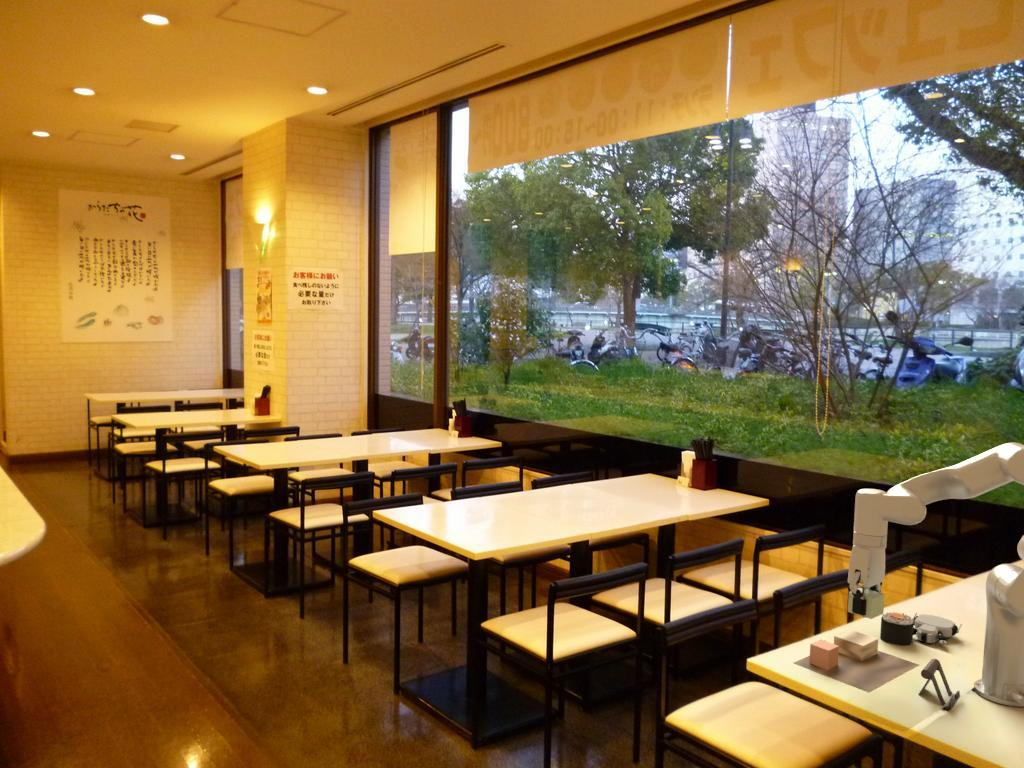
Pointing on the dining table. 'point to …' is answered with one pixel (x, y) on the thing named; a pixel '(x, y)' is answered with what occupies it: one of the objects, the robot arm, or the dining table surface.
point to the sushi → (897, 629)
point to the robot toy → (934, 628)
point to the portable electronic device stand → (929, 674)
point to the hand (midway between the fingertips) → (865, 610)
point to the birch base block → (856, 644)
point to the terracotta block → (824, 654)
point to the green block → (870, 603)
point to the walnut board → (863, 670)
